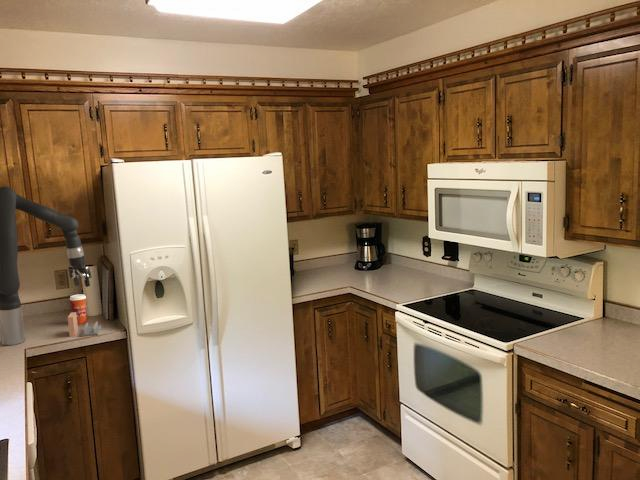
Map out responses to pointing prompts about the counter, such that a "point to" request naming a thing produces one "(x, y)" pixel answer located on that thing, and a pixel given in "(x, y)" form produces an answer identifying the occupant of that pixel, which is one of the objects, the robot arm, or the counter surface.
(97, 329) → the blue grey crystal cluster
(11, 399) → the counter surface
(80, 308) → the coffee cup
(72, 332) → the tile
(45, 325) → the counter surface
